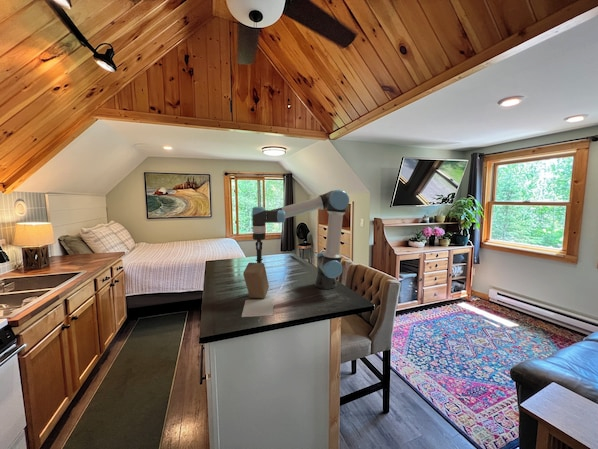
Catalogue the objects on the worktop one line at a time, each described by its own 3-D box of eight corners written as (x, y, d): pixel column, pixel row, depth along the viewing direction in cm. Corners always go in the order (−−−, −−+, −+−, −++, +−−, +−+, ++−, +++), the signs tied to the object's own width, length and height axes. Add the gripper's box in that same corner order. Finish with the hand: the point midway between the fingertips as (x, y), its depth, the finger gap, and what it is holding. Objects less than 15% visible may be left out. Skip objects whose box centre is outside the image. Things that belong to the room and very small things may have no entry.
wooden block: (265, 299, 147) (259, 274, 137) (249, 298, 149) (242, 273, 139) (269, 286, 156) (264, 262, 145) (254, 285, 158) (248, 261, 147)
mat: (273, 299, 148) (273, 298, 148) (273, 315, 127) (273, 314, 127) (245, 300, 146) (245, 299, 146) (241, 317, 125) (241, 316, 125)
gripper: (253, 231, 155) (254, 268, 158) (251, 234, 142) (252, 274, 145) (265, 231, 156) (266, 268, 158) (264, 234, 143) (265, 274, 145)
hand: (259, 271), depth 151 cm, fingers closed
